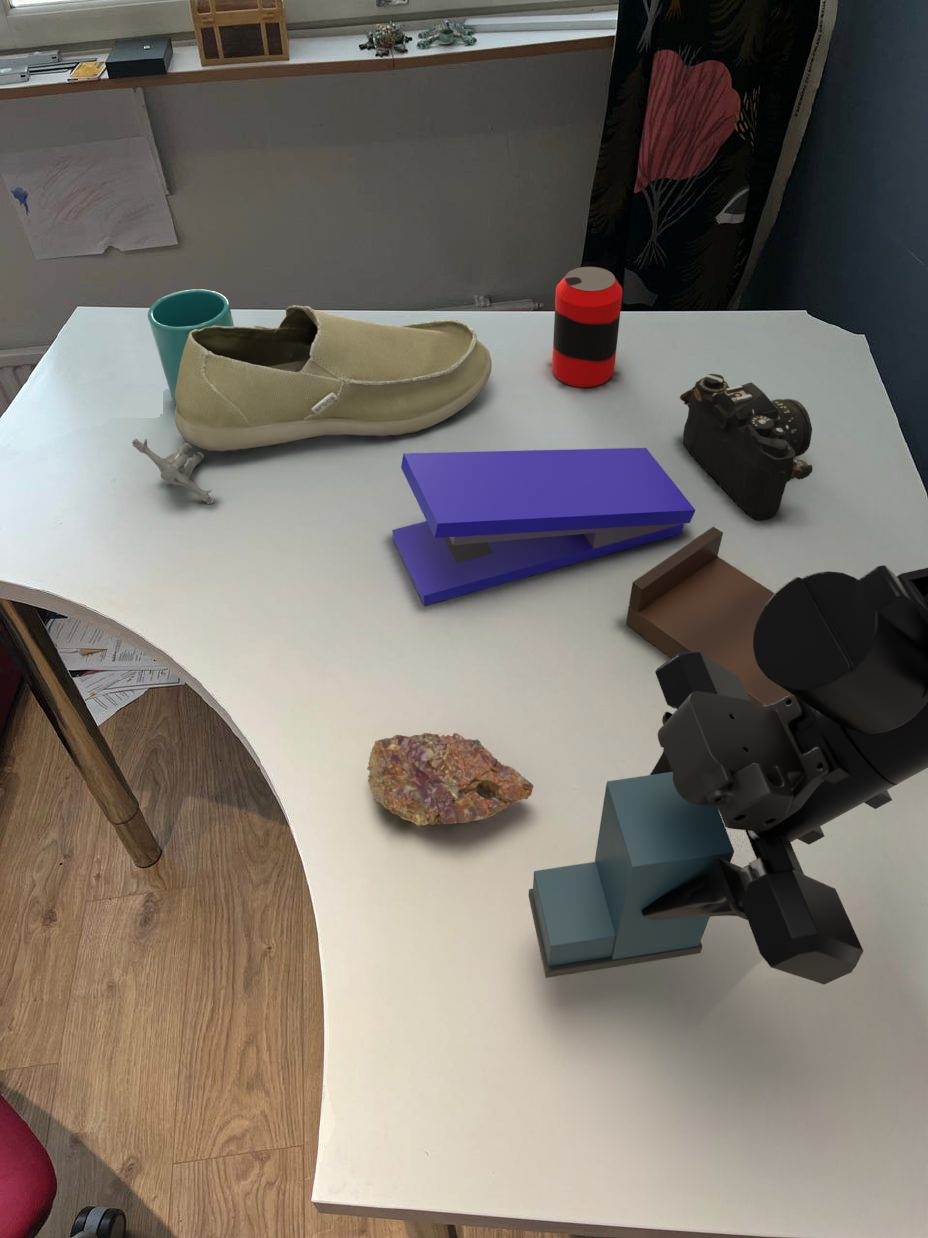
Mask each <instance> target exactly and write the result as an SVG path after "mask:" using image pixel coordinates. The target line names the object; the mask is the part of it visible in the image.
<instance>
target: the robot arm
mask: <svg viewBox="0 0 928 1238" xmlns="http://www.w3.org/2000/svg"><path fill="white" fill-rule="evenodd" d="M773 593H774V594H773V596H772V597H771V598H770V599H769V601H768V602H767V603H766V605H765V606H764V608H763V610H762V611H761V613H760V615H759V617H758V619H757V623H756V626H755V630H754V636H753V649H754V654H755V659H756V662H757V664H758V666H759V668H760V669H761V671H762V672H763V673H764V674H765V675H766V676H767V678H768V679H770V680H771V681H773V682H774V683H776V684H777V685H779V686H780V687H782V688H783V689H785V690H787V691H788V692H790V693H791V694H793V695H787V696H786V697H784V698H782V699H781V700H779V701H778V702H775V703H772V704H768V705H765V706H758V705H756V704H755V703H753V702H751V701H750V699H749V697H748V694H747V692H746V690H745V688H744V686H743V683H742V681H741V679H740V677H738V676H736V675H735V674H733V673H732V672H730V671H729V670H727V669H725V668H724V667H722V666H721V665H719V664H718V663H716V662H714V661H713V660H711V659H710V658H708V657H707V656H705V655H704V654H702V653H700V652H685V653H678V654H677V655H675V656H674V657H673V658H670V659H668V660H667V661H666V662H664V663H662V664H661V665H660V666H658V667H657V668H656V670H655V671H654V673H655V676H656V679H657V681H658V684H659V687H660V689H661V692H662V694H663V697H664V700H665V702H666V705H667V706H668V707H670V708H672V709H675V711H674V712H673V713H672V712H670V711H665V712H664V713H663V715H662V718H661V721H662V726H660V728H659V729H658V732H657V740H658V744H659V745H660V747H661V748H663V751H662V753H661V755H660V757H659V759H658V760H657V762H656V764H655V766H654V767H653V769H652V770H651V772H650V773H649V775H654V774H661V773H668V772H673V783H674V785H675V788H676V790H677V792H678V793H679V794H680V796H681V797H682V798H683V799H685V800H686V801H688V802H689V803H691V804H694V805H700V806H705V805H708V804H710V805H711V806H715V807H717V809H718V810H719V813H720V815H721V818H722V821H723V823H724V826H725V828H727V829H730V830H740V831H745V834H746V836H747V839H748V842H749V843H750V846H751V848H752V851H753V854H754V857H755V858H756V859H754V860H752V861H751V862H748V864H747V865H745V866H744V867H743V866H739V865H737V864H735V863H732V862H728V861H725V860H723V859H721V858H718V857H717V858H716V859H715V860H714V862H713V864H712V866H711V868H710V870H709V872H708V874H706V875H704V876H702V877H700V878H698V879H696V880H694V881H692V882H690V883H688V884H686V885H684V886H682V887H680V888H678V889H676V890H674V891H672V892H670V893H668V894H665V895H663V896H661V897H660V898H658V899H657V900H655V901H654V902H652V903H651V904H650V905H648V906H647V907H645V908H644V909H642V911H641V912H642V915H643V917H645V918H648V919H651V920H662V919H678V918H695V917H710V918H712V917H739V918H741V919H743V920H745V921H747V922H748V925H749V928H750V931H751V932H752V935H753V938H754V941H755V943H756V946H757V949H758V951H759V954H760V956H761V957H762V959H764V961H765V962H766V963H767V965H768V966H769V967H770V968H771V969H775V970H778V971H781V972H784V973H787V974H790V975H793V976H796V977H800V978H803V979H806V980H809V981H812V982H814V983H817V984H821V985H826V984H829V983H831V982H833V981H836V980H838V979H840V978H842V977H845V976H846V975H849V974H851V973H852V972H853V971H854V970H855V968H856V967H857V965H858V963H859V961H860V959H861V958H862V955H863V953H864V949H863V947H862V945H861V942H860V940H859V938H858V935H857V933H856V931H855V929H854V926H853V925H852V923H851V919H850V918H849V916H848V914H847V911H846V909H845V907H844V905H843V902H842V900H841V898H840V896H839V893H838V891H837V889H836V888H834V887H832V886H830V885H828V884H825V883H823V882H821V881H820V880H817V879H815V878H812V877H811V876H808V875H806V874H805V872H804V871H803V868H802V866H801V864H800V861H799V859H798V856H797V855H796V852H795V850H794V848H793V845H792V842H794V841H796V840H798V841H801V842H802V843H804V844H806V845H808V846H810V845H811V844H813V843H815V842H818V841H819V840H820V839H823V838H825V834H824V831H823V830H822V826H824V825H826V824H827V823H830V822H831V821H833V820H835V819H836V818H838V817H840V816H842V815H844V814H846V813H848V812H849V811H852V810H853V809H855V808H856V807H858V806H860V805H863V804H865V805H867V806H869V807H871V808H872V809H874V810H877V809H878V808H880V807H883V806H884V805H886V804H889V802H891V801H893V798H892V796H891V795H890V793H889V791H888V790H889V789H892V788H894V787H896V786H897V785H899V784H900V783H902V782H904V781H906V780H909V779H910V778H911V777H913V776H916V775H917V774H918V773H921V772H923V771H924V770H927V769H928V567H925V568H919V569H916V570H911V571H907V572H903V573H900V574H897V575H896V574H895V573H894V572H893V571H892V570H891V569H890V568H889V567H888V566H887V565H878V566H876V567H875V568H873V569H872V570H870V571H869V572H867V573H865V575H862V576H861V577H860V578H857V577H854V576H852V575H850V574H846V573H844V572H838V571H829V570H828V571H820V572H814V573H811V574H808V575H805V576H803V577H799V576H796V577H794V578H792V579H791V580H789V581H787V582H786V583H784V584H783V585H782V586H781V587H780V588H779V589H778V590H777V591H775V592H773Z"/></svg>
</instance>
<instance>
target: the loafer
mask: <svg viewBox="0 0 928 1238" xmlns="http://www.w3.org/2000/svg"><path fill="white" fill-rule="evenodd" d="M492 365H493V364H492V357H491V353H490V351H489V350H488V348H487V346H486V345H484V343H482V342H481V341H479V340H478V335H477V333H476V331H475V329H473V328H472V326H471V325H469V324H467V323H465V322H463V321H461V320H459V319H455V320H453V319H452V320H451V319H450V320H447V319H445V320H434V321H429V320H427V322H423V321H421V322H419V323H410V324H406V325H392V324H385V323H378V322H371V321H365V320H359V319H354V318H349V317H346V316H341V315H337V314H332V313H329V312H324V311H321V310H315V309H313V308H312V307H310V306H309V305H304V306H303V305H290V306H288V307H286V308H285V317H284V318H283V319H282V320H281V322H280V324H279V325H278V326H277V327H273V328H272V327H265V326H262V325H253V326H252V327H251V326H234V327H233V326H231V327H228V326H215V325H213V326H210V327H204V328H202V329H200V330H197V329H195V330H192V331H191V332H190V333H189V336H188V339H187V342H186V345H185V348H184V351H183V355H182V358H181V363H180V368H179V373H178V379H177V385H176V389H175V399H176V403H177V404H175V411H174V423H175V427H176V429H177V432H178V433H179V434H180V435H181V437H182V438H184V440H186V442H187V443H189V444H192V445H193V446H195V447H198V448H199V449H203V450H205V451H208V452H209V451H210V452H214V451H217V452H226V451H230V452H231V451H238V450H248V449H251V448H252V449H253V448H254V449H255V448H261V447H269V446H272V445H279V444H285V443H290V442H295V441H301V440H304V439H310V438H314V437H320V436H335V435H336V436H363V437H364V436H369V437H370V436H372V437H373V436H376V437H388V436H400V435H406V434H412V433H417V432H420V431H421V430H424V429H425V430H426V429H429V428H431V427H433V426H435V425H438V424H440V423H442V422H444V421H446V420H447V419H449V418H450V417H452V416H454V415H456V413H458V412H459V411H461V410H462V409H464V408H465V407H466V406H468V405H469V404H470V403H471V402H473V400H475V398H476V397H477V396H478V395H479V394H480V393H481V392H482V390H483V389H484V388H485V386H486V384H487V383H488V380H489V379H490V376H491V373H492Z"/></svg>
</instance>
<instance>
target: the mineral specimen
mask: <svg viewBox="0 0 928 1238" xmlns="http://www.w3.org/2000/svg"><path fill="white" fill-rule="evenodd" d="M366 770H367V771H369V774H368V776H367V777H368V779H367V782H368V784H369V786H370V792H371V794H373V798H374V801H375V802H376V803H377V804H381V805H382V807H384V809H386V810H388V811H389V812H390V813H391V814H392V815H395V816H397V817H399V818H400V819H401V820H403V821H409V822H412V823H413V824H415V825H416V826H419V827H421V826H427V825H432V826H433V825H443V824H444V825H445V824H446V825H451V824H463V823H465V824H466V823H470V822H473V821H482V820H485V819H488V818H490V817H492V816H495V815H497V814H498V813H501V811H502V810H505V809H507V808H508V807H509V805H512V804H517V803H518V802H519V801H521V800H528V799H529V798H530V797H531V796H532V794H533V790H534V784H532V783H531V781H529V780H528V779H526V777H524V776H522V774H521V773H520V772H519V771H518V770H516V769H515V768H513V767H511V766H510V765H509V766H508V765H505V764H503V763H502V762H500V761H498V759H497V758H496V757H494V755H493V754H492V753H491V752H490V751H489V750H488V749H487V748H485V747H484V746H483V744H482V743H481V741H480V740H479V739H471V738H470V739H467V738H465V737H463V735H461V734H459V733H456V732H454V733H452V735H449V734H447V735H445V734H442V735H441V736H440V735H439V734H437V733H431V732H429V733H428V732H423V733H421V734H413V735H411V736H407V735H402V734H395V735H393V736H392V737H385V738H381V739H378V740H375V741H374V745H373V746H372V748H371V751H370V755H369V758H368V765H367V768H366ZM479 790H481V791H482V792H483V794H485V795H486V796H487V798H485V797H483V796H481V795H480V794H479V793H478V792H477V791H479Z"/></svg>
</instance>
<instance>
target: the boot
mask: <svg viewBox="0 0 928 1238" xmlns="http://www.w3.org/2000/svg"><path fill="white" fill-rule="evenodd" d="M601 810H602V811H601V816H600V824H599V830H598V835H597V843H596V850H595V857H594V861H591V862H585V863H579V864H578V863H577V864H572V865H565V866H559V867H558V866H557V867H552V868H551V867H550V868H544V869H537V870H534V871H533V880H532V881H533V882H532V888H529V889H528V900H529V905H530V910H531V915H532V921H533V924H534V929H535V934H536V939H537V944H538V949H539V954H540V959H541V963H542V967H543V968H542V969H543V973H544V977H545V979H548V978H549V979H550V978H556V977H561V976H567V975H574V974H579V973H580V974H581V973H586V972H594V971H599V970H604V969H611V968H617V967H623V966H629V965H637V964H643V963H648V962H654V961H660V960H661V961H662V960H667V959H674V958H680V957H686V956H692V955H698V954H701V952H702V950H703V944H702V939H703V936H704V934H705V931H706V928H707V926H708V923H709V920H710V918H711V917H695V918H678V919H662V920H651V919H648V918H645V917H643V915H642V912H641V911H642V909H644V908H645V907H647V906H648V905H650V904H651V903H652V902H654V901H655V900H657V899H658V898H660V897H661V896H663V895H665V894H668V893H670V892H672V891H674V890H676V889H678V888H680V887H682V886H684V885H686V884H688V883H690V882H692V881H694V880H696V879H698V878H700V877H702V876H704V875H706V874H708V872H709V870H710V868H711V866H712V864H713V862H714V860H715V859H716V858H717V857H718V858H721V859H723V860H725V861H728V862H730V863H732V859H733V857H734V854H735V849H734V847H733V844H732V842H731V839H730V836H729V833H728V831H727V829H726V828H727V827H725V825H724V822H723V819H722V817H721V814H720V812H719V810H718V809H717V807H715V806H711V805H710V804H708V805H705V806H700V805H694V804H691V803H689V802H688V801H686V800H685V799H683V798H682V797H681V796H680V794H679V793H678V792H677V790H676V788H675V785H674V783H673V772H668V773H661V774H654V775H650V774H648V775H641V776H634V777H628V778H627V777H626V778H620V779H613V780H607V781H606V785H605V791H604V798H603V804H602V809H601Z"/></svg>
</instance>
